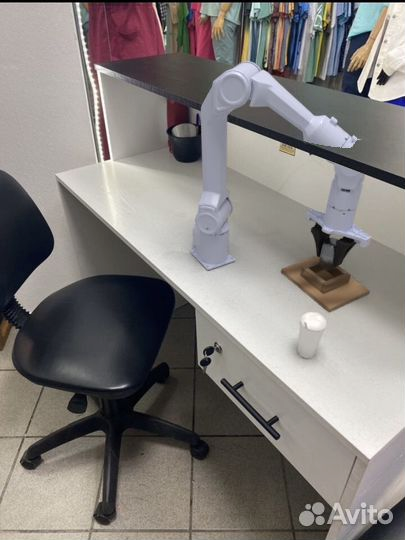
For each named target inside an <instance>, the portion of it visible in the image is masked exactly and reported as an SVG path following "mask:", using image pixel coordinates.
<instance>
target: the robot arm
mask: <svg viewBox="0 0 405 540" xmlns="http://www.w3.org/2000/svg"><path fill="white" fill-rule="evenodd" d="M248 101H250V103H249V107H250V108H259V107H268V108H270V109H271V110H272V111H274V112H275V113H277V114H278V115H279V116H281V117H282V118H283V119H285V120H286V121H287V122H289V123H290V124H292V125H293V126H295V127H296V128H297V129H298V130H300V131H301V132H302V136H303V142H304V141H306V142H309V143H314V144H319V145H324V146H331V147H340V148H341V147H342V148H351V147H353V145H354V144H355V142H356V141H357V140H361V139H359V138H358V137H357V136H355V135H354V134H353V135H352V136H351V135H350V134H349V133H348V132H346V131H345V130H344V129H343V128H342V127H341V126H339V125H338V124H337V123H338V119H336V118H335V117H334V116H331V117H330V118H329V117H328V116H327V115H324V114H323V115H314V114H313V113H312V112H311V111H310V110H309V109H308V108H306V106H304V104H302V103H301V102H300V101H299V100H298V99H297V98H296V97H294V95H292V93H290V92H289V91H288V90H287V89H286V88H285V87H284V86H283V85H282V84H280V83H279V82H278V80H276V79H275V78H274V77H273V76H272V75H271V74H270V72H269V71H266V70H264V69H261V67H259V65H257V63H255V62H254V61H253V62H252V61H248V60H246V61H242V62H239V63H238V64H237V65H235V67H233V68H230V69H228V70H225V71H224V72H223V73H222V74H221V75H219V76H218V77H217V78H215V79H214V80H213V82H212V85H211V88H210V89H209V92H208V93H207V95H206V97H205V99H204V101H203V102H202V103H201V107H200V126H201V127H200V128H201V129H200V131H201V133H200V134H201V163H202V165H201V166H202V167H201V168H202V173H201V174H202V192H201V196H200V199H199V202H198V210H197V212H196V215H195V217H194V223H195V224H194V225H193V228H192V249H189V252H190V254H191V255H192V256H193V257H194V258H195V259H196V260H197V261H198V262H199V263H200V264H201V265H202V266H203V267H204V268H205V269H206V270H208V271H210V270H211V271H212V270H214V269H217V268H218V267H222V266H225V265H229V264H231V263H233V262H234V263H235V261H236V259H235V258H234V257H233V256H232V255H231V254H230V252H229V244H230V243H229V242H230V223H229V217H230V216H231V215H232V214H233V211H234V205H233V202H232V200H231V197H230V190H229V189H228V188H227V171H228V169H227V162H228V161H227V160H228V158H227V157H228V155H227V154H228V152H227V151H228V115H229V114H230V113H232V111H233V110H236V109H238V108H241V107H243V106H244V105H246V104H247V102H248ZM326 161H327V162H328V163H330V164H333V168H334V169H333V170H334V173H335V174H334V178H333V179H332V181H331V185H330V189H329V195H328V198H327V199H328V200H327V202H326V203H327V204H326V208H325V211H324V212H322V211H319V210H316V209H313V208H312V209H310V210H308V211H306V216H305V221H308V222H311V221H312V222H314V223H315V224H314V226H312V227H311V228H310V233H311V234H312V237H313V239H314V244H315V252H316V256H317V257H320V253H321V249H322V244H323V240H324V239H326V238H331V235H332V234H334V235H338V236H341V238H339V239H338V240H337V241H336V256H335V259H334V266H335V267H337V266H339V267H340V265H342V264H343V262H344V260H345V258H346V257H347V255H348V254H349V252H350V251H351V250H352V249H353V248H354V247H355V246H356V244H359V247H361V248H366V247H368V246H369V245H370V243H371V240H372V236H371V235H369V234H368V233H366V232H364V231H363V230H362V229H360V227H358V226H357V225H356V224H354V219H355V216H356V212H357V209H358V205H359V201H360V198H361V194H362V190H363V187H364V186H363V182H364V181H365V176H366V175H365V174H362V173H360V172H357V171H354V170H352V169H349V168H346V167H344V166H341V165H339V164H336V163H334V162H331V161H328V160H326Z"/></svg>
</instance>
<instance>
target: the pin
mask: <svg viewBox="0 0 405 540" xmlns="http://www.w3.org/2000/svg"><path fill="white" fill-rule="evenodd" d="M337 240H339V239H338V238H336V237H329V238H326V239H324V240H323V244H322V249H321V253H320V258H319V262H318V265H319V267H320V268H322V269H324V270H328V271H332V270H335V269H336V268H337V267H335V266H334V259H335V256H336V241H337Z"/></svg>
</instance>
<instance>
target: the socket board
mask: <svg viewBox="0 0 405 540" xmlns="http://www.w3.org/2000/svg"><path fill="white" fill-rule="evenodd" d="M319 258H320V257H317V255H314V256H312V257H309V258H307V259H304V260H302V261H299V262H296V263H294V264H291V265H289V266H286V267H283V268H281V269H280V273H281V274H282V275H284V276H285V277H286V278H287V279H288V280H289V281H291V283H293V284H294V285H295V286H297V288H298V289H300V290H301V291H302V292H304V294H306V295H307V296H309V297H310V298H311V299H312V300H313V301H315V302H316V303H317V304H318V305H319V306H321V308H323V309H324V310H325V311H327V312H328V313H331V312H333V311H335V310H338V309H340V308H342V307H344V306H346V305H348V304H350V303H352V302H354V301H356V300H359V299H361V298H363V297H365V296H367V295H369V294H370V291H371V290H369V289H368V288H367V287H365V286H364V285H363V284H362V283H360V282H358V281H357V280H355V279H354V278H353V277H352V274H351V273H350V272H348V271H347V270H345V269H344V268H342V267H341V266H340V265H339V266H337V268H336V269H335V270H332V271H328V270H324V269H322V268H320V267H319V265H318V262H319Z"/></svg>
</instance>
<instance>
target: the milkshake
mask: <svg viewBox="0 0 405 540" xmlns="http://www.w3.org/2000/svg"><path fill="white" fill-rule="evenodd" d="M299 318H300V319H299V330H298V332H299V333H298V342H297V354H298V355H299V356H300V357H301V358H304V359H306V360H307V359H313V357H314V356H315V355H316V353H317V350H318V348H319V345H320V342H321V339H322V337H323V335H324V332H325V330H326V328H327V326H328V323H327V322H328V321H327V320H326V318H325V317H324V316H323V315H322V314H321V313H319V312H316V311H307V312H305V313H303V314H302V315H300V317H299Z"/></svg>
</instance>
